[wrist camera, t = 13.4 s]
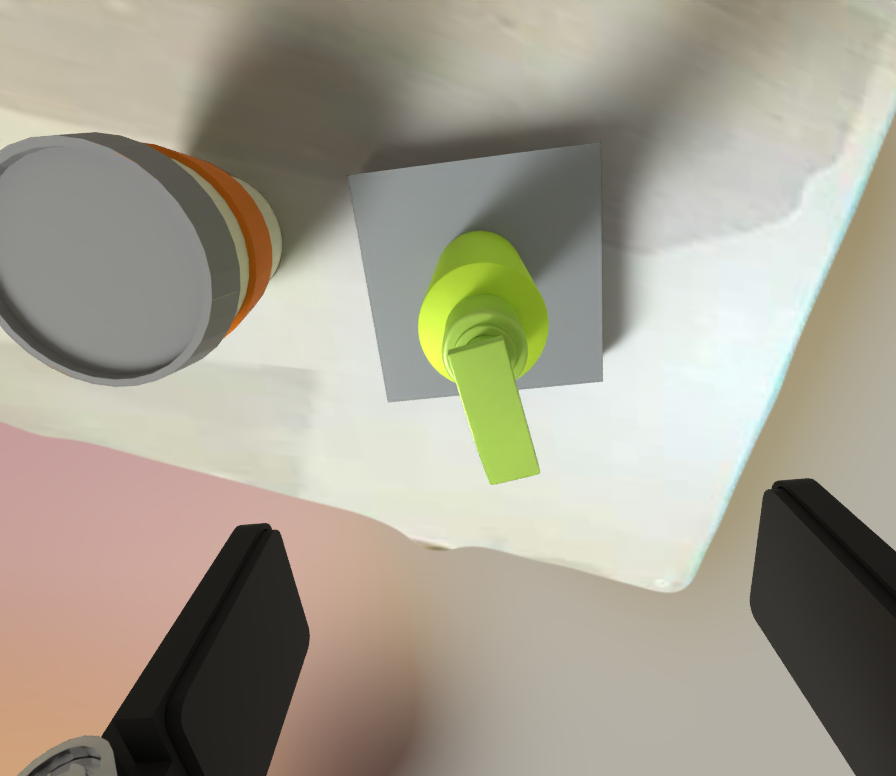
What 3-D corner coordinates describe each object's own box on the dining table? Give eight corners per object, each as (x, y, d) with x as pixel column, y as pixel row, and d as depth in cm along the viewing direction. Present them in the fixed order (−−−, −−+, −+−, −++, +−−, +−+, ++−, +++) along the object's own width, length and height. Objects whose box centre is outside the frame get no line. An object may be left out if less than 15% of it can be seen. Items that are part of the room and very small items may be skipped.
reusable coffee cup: (105, 185, 38) (-104, 192, 24) (255, 115, 36) (121, 78, 22) (195, 340, 42) (63, 421, 28) (334, 285, 40) (264, 345, 26)
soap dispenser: (454, 340, 37) (437, 505, 19) (425, 245, 35) (371, 328, 16) (535, 318, 36) (599, 468, 18) (510, 219, 34) (555, 275, 16)
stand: (359, 175, 37) (347, 175, 33) (586, 144, 36) (600, 141, 32) (394, 382, 43) (388, 402, 39) (590, 362, 42) (602, 381, 38)
